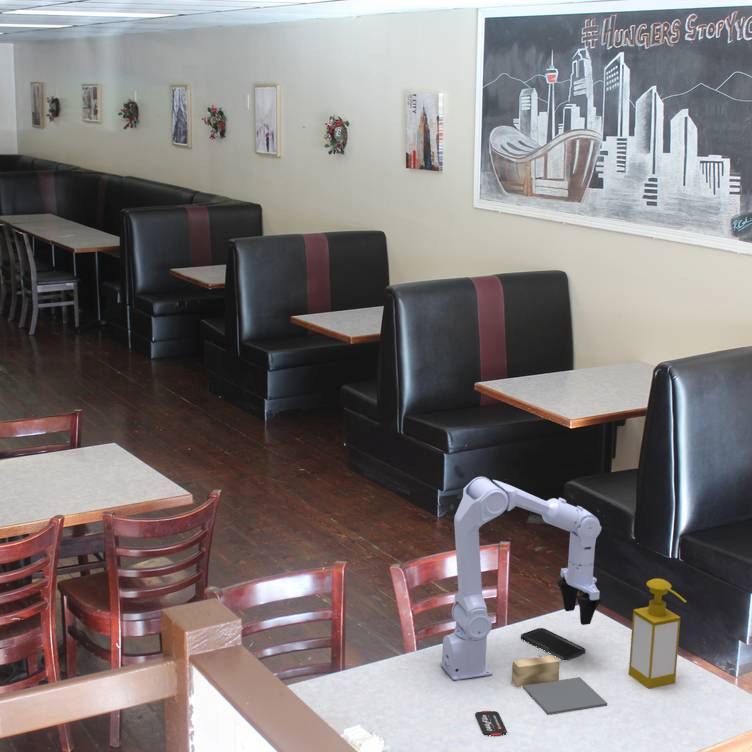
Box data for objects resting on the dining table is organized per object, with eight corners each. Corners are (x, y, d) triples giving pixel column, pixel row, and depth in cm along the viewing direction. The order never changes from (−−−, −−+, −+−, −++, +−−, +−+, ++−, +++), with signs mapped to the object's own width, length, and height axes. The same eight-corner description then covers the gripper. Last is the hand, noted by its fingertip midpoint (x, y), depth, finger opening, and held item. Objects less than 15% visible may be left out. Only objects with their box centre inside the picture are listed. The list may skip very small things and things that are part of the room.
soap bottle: (664, 700, 235) (673, 597, 230) (628, 674, 247) (635, 576, 242) (691, 694, 238) (700, 592, 233) (654, 668, 249) (662, 571, 245)
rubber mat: (547, 714, 228) (548, 712, 228) (522, 687, 240) (522, 685, 239) (607, 705, 233) (607, 703, 233) (579, 679, 244) (579, 677, 244)
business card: (508, 734, 220) (484, 735, 219) (508, 737, 220) (483, 738, 220) (497, 710, 229) (474, 711, 229) (497, 713, 229) (473, 714, 229)
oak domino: (517, 688, 240) (518, 667, 239) (511, 681, 242) (512, 661, 241) (558, 681, 243) (559, 661, 242) (552, 675, 246) (553, 655, 245)
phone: (541, 627, 268) (587, 649, 257) (541, 631, 269) (587, 654, 257) (518, 635, 264) (564, 658, 252) (518, 639, 264) (564, 663, 252)
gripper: (612, 571, 244) (608, 628, 247) (581, 548, 258) (577, 602, 260) (584, 574, 242) (581, 631, 245) (554, 551, 255) (550, 605, 258)
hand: (577, 617), depth 252 cm, fingers open, 7 cm apart
